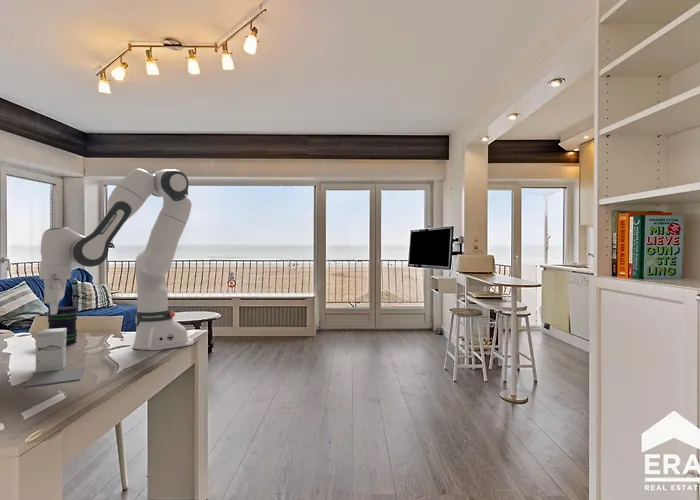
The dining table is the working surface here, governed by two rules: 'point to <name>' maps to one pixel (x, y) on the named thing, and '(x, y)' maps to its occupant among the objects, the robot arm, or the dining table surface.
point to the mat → (54, 377)
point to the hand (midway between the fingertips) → (53, 313)
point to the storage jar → (65, 322)
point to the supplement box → (50, 349)
